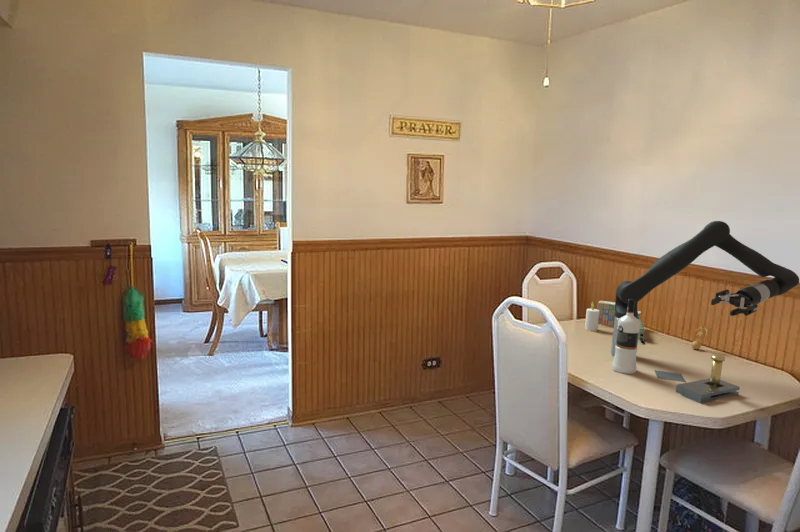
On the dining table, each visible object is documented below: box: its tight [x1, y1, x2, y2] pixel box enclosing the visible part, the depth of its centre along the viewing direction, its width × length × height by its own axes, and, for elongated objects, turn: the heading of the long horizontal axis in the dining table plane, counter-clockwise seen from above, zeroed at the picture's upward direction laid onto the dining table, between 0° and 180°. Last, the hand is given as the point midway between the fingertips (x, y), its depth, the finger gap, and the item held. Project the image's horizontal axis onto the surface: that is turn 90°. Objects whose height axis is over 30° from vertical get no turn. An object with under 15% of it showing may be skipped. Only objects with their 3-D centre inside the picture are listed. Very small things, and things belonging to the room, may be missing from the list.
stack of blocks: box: [596, 300, 642, 328], centre depth 291 cm, size 21×6×12 cm, turn 59°
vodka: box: [611, 299, 640, 375], centre depth 219 cm, size 9×9×30 cm
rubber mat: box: [654, 369, 687, 383], centre depth 216 cm, size 10×10×1 cm
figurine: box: [691, 324, 709, 350], centre depth 254 cm, size 8×6×12 cm
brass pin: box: [709, 354, 726, 388], centre depth 200 cm, size 4×4×14 cm
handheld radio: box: [638, 318, 646, 344], centre depth 271 cm, size 7×3×25 cm
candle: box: [584, 301, 599, 332], centre depth 282 cm, size 6×6×15 cm
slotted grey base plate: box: [675, 377, 740, 404], centre depth 199 cm, size 21×10×3 cm, turn 115°
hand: (721, 308), depth 208 cm, fingers open, 8 cm apart
